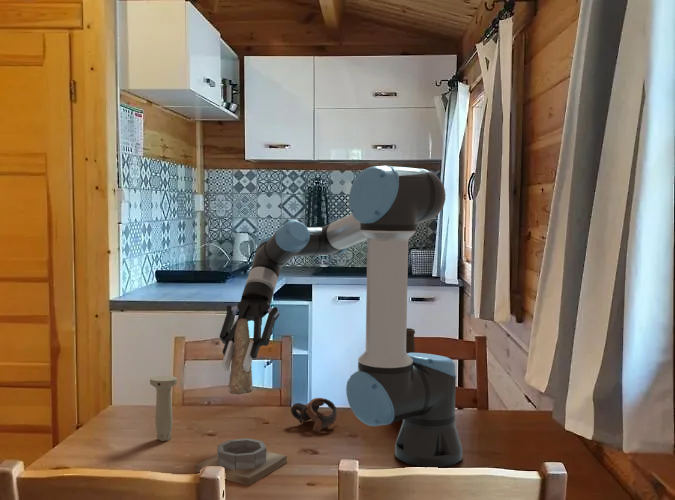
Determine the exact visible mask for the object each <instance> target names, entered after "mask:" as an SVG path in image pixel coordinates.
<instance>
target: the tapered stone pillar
mask: <svg viewBox="0 0 675 500" xmlns="http://www.w3.org/2000/svg"><path fill="white" fill-rule="evenodd" d="M236 321H237V320H236ZM250 342H251V340H250V329H249V321H247V319H243V318H241V319H239V320H238V321H237V325H236V329H235V337H234V353H233V357H232V360H231V364H230V374H229V382H228V392H229V393H230V394H231V395H244V394H249V393H252V392H253V370H252V365H251V366H250V369H249V372H246V371H245V369H244V367H243V363H244V359H245V356H246V353H247V349H248V346H249V343H250Z"/></svg>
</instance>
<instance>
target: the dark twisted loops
mask: <svg viewBox="0 0 675 500" xmlns="http://www.w3.org/2000/svg"><path fill="white" fill-rule="evenodd" d="M324 404H325V405H327V408H329V409H332V413H331V414H329V415H325V414H324V413H322V412H320V411H319V408H320V407H322V406H324ZM298 411H299V412H298ZM290 413H291V415H292V416H293V418H294V419H296V420H297V421H298V422H299V424H305V423H306V422H308V421H313V422H314V425H313V427H312V430H313V431H314V432H316V433H319V432H320V431H321V429H324V428H328V427H329V426H331V425H333V424H334V423H335V421H336V420H337V417H338V414H337V407H336V405H335V404H334V403H333V401H331V400H330V399H327V398H323V397H315V398H313V399H311V400H310V401H309V402H308V403H306V404H303V403H300V402H296V403H293V405H292V406H291V407H290Z"/></svg>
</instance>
